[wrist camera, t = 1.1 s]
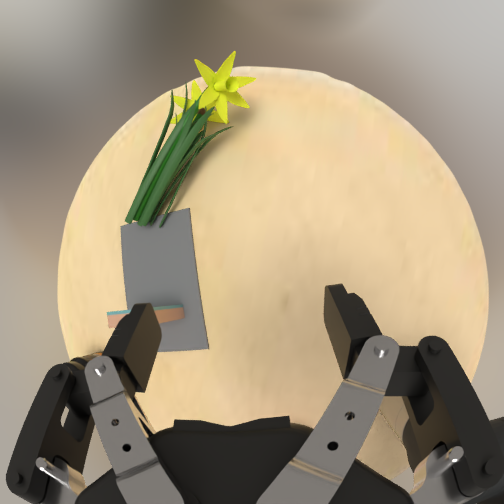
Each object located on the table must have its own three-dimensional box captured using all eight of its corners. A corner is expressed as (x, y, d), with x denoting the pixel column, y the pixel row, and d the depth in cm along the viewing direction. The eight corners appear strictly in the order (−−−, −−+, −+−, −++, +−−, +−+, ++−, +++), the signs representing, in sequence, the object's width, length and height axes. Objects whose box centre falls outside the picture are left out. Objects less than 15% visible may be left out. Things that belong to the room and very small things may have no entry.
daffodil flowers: (120, 198, 55) (200, 60, 47) (176, 227, 59) (258, 91, 51) (90, 215, 39) (198, 29, 31) (165, 255, 43) (277, 70, 35)
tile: (184, 318, 47) (155, 324, 37) (143, 322, 49) (109, 327, 38) (182, 304, 48) (152, 307, 37) (141, 309, 49) (106, 312, 38)
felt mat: (209, 348, 46) (208, 348, 46) (135, 352, 48) (134, 352, 48) (189, 208, 50) (188, 207, 50) (121, 226, 53) (120, 226, 52)
